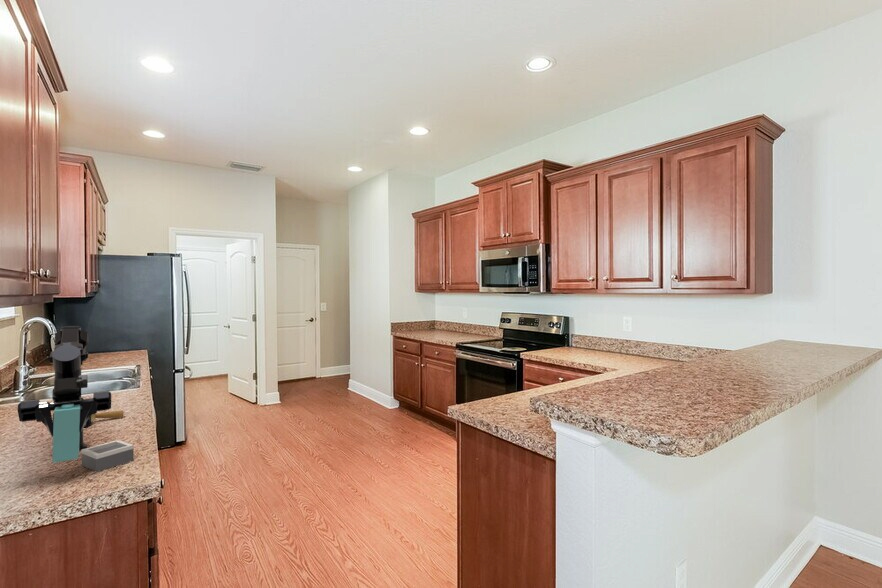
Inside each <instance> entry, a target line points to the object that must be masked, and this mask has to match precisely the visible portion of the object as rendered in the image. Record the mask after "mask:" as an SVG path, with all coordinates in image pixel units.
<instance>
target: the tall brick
mask: <svg viewBox="0 0 882 588" xmlns="http://www.w3.org/2000/svg"><path fill="white" fill-rule="evenodd" d="M53 413H54V424H53V437H52V462H51V463H53V464H54V463H60V462H66V461H72V460H79V457H80V456H79V455H80V449H79V440H80V432H79V425H80V405H74V404H64V405H62V407H55V410H54V411H53Z"/></svg>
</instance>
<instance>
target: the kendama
mask: <svg viewBox="0 0 882 588" xmlns="http://www.w3.org/2000/svg"><path fill="white" fill-rule="evenodd" d="M122 417H123V418H124V410H123V409H122V410H115V411H106V412H97V413H96V414H92V415H91V423H92V422H93V421H95V419H123V418H122Z"/></svg>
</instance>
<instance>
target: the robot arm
mask: <svg viewBox="0 0 882 588" xmlns="http://www.w3.org/2000/svg"><path fill="white" fill-rule="evenodd" d="M86 347H89V332H88V331H86V330H83V329H82V327H81V326H79V325H69V326H67V325H66V326H61V327H60V330H59V331H57V332H55V334H54V348H53V351H50V353H49V364H51V365H52V366H53V370H54V377H53V378H54V381H53V389H52V396H51V397H52V399H51V400H52V402H49V401H43V402H40V401H41V400H40V399H31V400H22V401H21V402H19V403H18V405H17V416H18V420H19V422H22V423H25V422H31V421H36V422H37V423H42V424H43V425H44V426H45V427H46V429H47V431H48V433H49V434H50V436H51V438H53V424H54V410H55V407H62V405H64V404H74V405H80V425H79V432H80V440H79V450H82V449H86V448H88V446H87V444H85V442H84V429H88V428H91V427H92V422H91V415H92V414H97V413H98V412H101V411H109V410H111V409H112V392H110V391H109V390H105V391H99V392H98V391H97V392H93V393H92V394H93V397H92V398H91V397H89V398H84V397H82V389H86V388H89V387H88V384H89V383H88V379H89V377H88V374H84V375H83V374H82V368H81V366H83V362H86V361H87V360H88V358H89V352H88V351H87V350H86ZM52 412H53V413H52Z"/></svg>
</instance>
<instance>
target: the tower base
mask: <svg viewBox="0 0 882 588" xmlns="http://www.w3.org/2000/svg"><path fill="white" fill-rule="evenodd" d="M80 450H81V456H80V457H81V459H80V460H81V462H80V463H81V467H83V466H84V468H85V469H88V468H89V470H90V469H91V471H94V472H95V471H96V472H95V473H99V472H101V470H102V471H104V469H105V470H108V469H110V468H114V466H115V467H117V465H118V466H120V464H121V465H123V463H124V464H127V462H128V463H131V462H134V461H135V460H134V457H135V456H134V450H135V449H134V444H131V443H128V442H126V441H122V440H120V439H117V440H113V441H108V442H106V443H102V444H97V445H94V446H90V447H87V448H84V449H80ZM130 461H131V462H130ZM107 468H108V469H107Z"/></svg>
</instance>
